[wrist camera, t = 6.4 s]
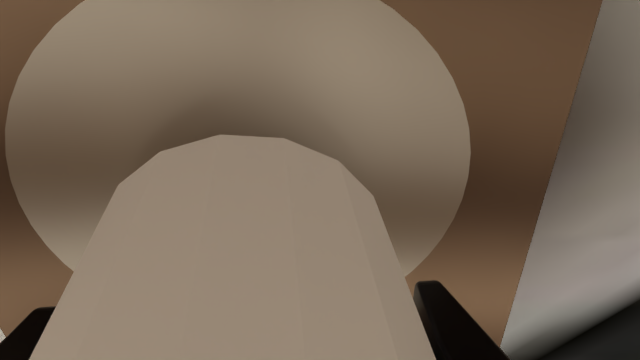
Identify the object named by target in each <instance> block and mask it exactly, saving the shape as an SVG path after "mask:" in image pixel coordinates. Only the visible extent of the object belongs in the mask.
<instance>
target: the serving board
mask: <svg viewBox="0 0 640 360" xmlns="http://www.w3.org/2000/svg"><path fill="white" fill-rule="evenodd" d="M601 4H602V0H0V328H1V330H2V331H3V333H4V335H5V336H6V337H7V336H8V335H9V334H10V333H11V332H12V331H13V330H14V329H15V328H16V327H17V326H18V325H19V324H20V323H21V322H22V321H23V320H24V319H25V318H26V317H27V316H28V315H29V314H30V313H31V312H32V311H33V310H35V309H36V308H39V307H50V306H57V304H58V302H59V300H60V298H61V296H62V294H63V292H64V290H65V288H66V286H67V284H68V282H69V280H70V278H71V276H72V274H73V272H74V270H75V268H76V266H77V265H78V263H79V261H80V259H81V257H82V255H83V253H84V251H85V249H86V247H87V245H88V243H89V241H90V239H91V237H92V235H93V233H94V231H95V229H96V227H97V225H98V223H99V221H100V219H101V217H102V216H103V214H104V212H105V210H106V208H107V206H108V204H109V202H110V200H111V198H112V196H113V194H114V192H115V190H116V188H117V186H118V185H119V184H120V183H121V182H122V181H124V180H125V179H126V178H127V177H129V176H130V175H131V174H132V173H134V172H135V171H136V170H137V169H139V168H140V167H141V166H143V165H144V164H145V163H146V162H148V161H149V160H150V159H151V158H153V157H154V156H155V155H156V154H158V153H159V152H160V151H164V150H167V149H171V148H174V147H178V146H181V145H185V144H188V143H192V142H195V141H199V140H202V139H206V138H209V137H213V136H216V135H238V136H256V137H274V138H285V139H288V140H290V141H292V142H295V143H297V144H300V145H302V146H304V147H307V148H309V149H312V150H314V151H316V152H319V153H321V154H324V155H326V156H329V157H331V158H333V159H336V160H338V161H339V162H340V163H341V164H342V165H343V166H344V167H345V168H346V169H347V170H348V171H349V172H350V173H351V174H352V175H353V176H354V177H355V178H356V179H357V180H358V181H359V182H360V183H361V184H362V185H363V186H364V187H365V188H366V189H367V190H368V191H369V192H370V193H371V194H372V195H373V196H374V199H375V201H376V204H377V206H378V209H379V212H380V214H381V217H382V219H383V222H384V225H385V227H386V230H387V233H388V235H389V238H390V240H391V243H392V246H393V248H394V251H395V253H396V256H397V259H398V261H399V264H400V267H401V269H402V272H403V274H404V277H405V280H406V282H407V285H408V287H409V290H410V293H411V295H412V298H413V295H414V287H415V284H416V283H417V282H419V281H430V280H437V281H439V282H440V283H441V284H442V285H443V286H444V287H445V288H446V289H447V290H448V291H449V292H450V293H451V295H452V296H453V297H454V298H455V299H456V300H457V301H458V302H459V303H460V304H461V306H462V307H463V308H464V309H465V310H466V311H467V312H468V313H469V314H470V315H471V317H472V318H473V319H474V320H475V321H476V322H477V323H478V324H479V325H480V326H481V328H482V329H483V330H484V331H485V332H486V333H487V334H488V335H489V336H490V337H491V339H492V340H493V341H494V342H495V343H496V344H497V345H498V346H499V347H500V344H501V341H502V338H503V334H504V331H505V328H506V324H507V321H508V317H509V314H510V311H511V307H512V304H513V301H514V297H515V294H516V290H517V287H518V284H519V280H520V277H521V274H522V270H523V267H524V263H525V260H526V257H527V253H528V250H529V247H530V243H531V240H532V236H533V233H534V230H535V226H536V223H537V220H538V216H539V213H540V210H541V206H542V203H543V199H544V196H545V193H546V189H547V186H548V183H549V179H550V176H551V172H552V169H553V166H554V162H555V159H556V156H557V152H558V149H559V145H560V142H561V139H562V135H563V132H564V129H565V125H566V122H567V118H568V115H569V112H570V108H571V105H572V102H573V98H574V95H575V91H576V88H577V85H578V81H579V78H580V75H581V71H582V68H583V64H584V61H585V58H586V54H587V51H588V48H589V44H590V41H591V37H592V34H593V31H594V27H595V24H596V21H597V17H598V14H599V10H600V7H601Z"/></svg>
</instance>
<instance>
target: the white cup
mask: <svg viewBox="0 0 640 360" xmlns="http://www.w3.org/2000/svg"><path fill="white" fill-rule="evenodd" d="M29 360H436V358H435V355H434V353H433V350H432V348H431V345H430V342H429V340H428V337H427V335H426V332H425V329H424V327H423V324H422V321H421V319H420V316H419V314H418V311H417V308H416V306H415V303H414V301H413V298H412V295H411V293H410V290H409V287H408V285H407V282H406V280H405V277H404V274H403V272H402V269H401V267H400V264H399V261H398V259H397V256H396V253H395V251H394V248H393V246H392V243H391V240H390V238H389V235H388V233H387V230H386V227H385V225H384V222H383V219H382V217H381V214H380V212H379V209H378V206H377V204H376V201H375V199H374V196H373V195H372V194H371V193H370V192H369V191H368V190H367V189H366V188H365V187H364V186H363V185H362V184H361V183H360V182H359V181H358V180H357V179H356V178H355V177H354V176H353V175H352V174H351V173H350V172H349V171H348V170H347V169H346V168H345V167H344V166H343V165H342V164H341V163H340V162H339V161H338V160H336V159H333V158H331V157H329V156H326V155H324V154H321V153H319V152H316V151H314V150H312V149H309V148H307V147H304V146H302V145H300V144H297V143H295V142H292V141H290V140H288V139H285V138H274V137H256V136H238V135H216V136H213V137H209V138H206V139H202V140H199V141H195V142H192V143H188V144H185V145H181V146H178V147H174V148H171V149H167V150H164V151H160V152H159V153H158V154H156V155H155V156H154V157H153V158H151V159H150V160H149V161H148V162H146V163H145V164H144V165H143V166H141V167H140V168H139V169H137V170H136V171H135V172H134V173H132V174H131V175H130V176H129V177H127V178H126V179H125V180H124V181H122V182H121V183H120V184H119V185H118V186H117V188H116V190H115V192H114V194H113V196H112V198H111V200H110V202H109V204H108V206H107V208H106V210H105V212H104V214H103V216H102V217H101V219H100V221H99V223H98V225H97V227H96V229H95V231H94V233H93V235H92V237H91V239H90V241H89V243H88V245H87V247H86V249H85V251H84V253H83V255H82V257H81V259H80V261H79V263H78V265H77V266H76V268H75V270H74V272H73V274H72V276H71V278H70V280H69V282H68V284H67V286H66V288H65V290H64V292H63V294H62V296H61V298H60V300H59V302H58V304H57V306H56V308H55V310H54V312H53V314H52V315H51V317H50V319H49V321H48V323H47V325H46V327H45V329H44V331H43V333H42V335H41V337H40V339H39V341H38V343H37V345H36V347H35V349H34V351H33V353H32V355H31V357H30V359H29Z"/></svg>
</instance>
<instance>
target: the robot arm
mask: <svg viewBox="0 0 640 360" xmlns="http://www.w3.org/2000/svg"><path fill="white" fill-rule="evenodd" d="M413 301H414V303H415V306H416V308H417V311H418V314H419V316H420V319H421V321H422V324H423V327H424V329H425V332H426V335H427V337H428V340H429V342H430V345H431V348H432V350H433V353H434V355H435V358H436V360H511V359H510V358H509V357H508V356H507V355H506V354H505V353H504V352H503V351H502V350H501V348H500V347H499V346H498V345H497V344H496V343H495V342H494V341H493V340H492V339H491V337H490V336H489V335H488V334H487V333H486V332H485V331H484V330H483V329H482V328H481V326H480V325H479V324H478V323H477V322H476V321H475V320H474V319H473V318H472V317H471V315H470V314H469V313H468V312H467V311H466V310H465V309H464V308H463V307H462V306H461V304H460V303H459V302H458V301H457V300H456V299H455V298H454V297H453V296H452V295H451V293H450V292H449V291H448V290H447V289H446V288H445V287H444V286H443V285H442V284H441V283H440V282H439V281H437V280H430V281H419V282H417V283H416V284H415V287H414V295H413ZM55 308H56V306H50V307H39V308H36V309H35V310H33V311H32V312H31V313H30V314H29V315H28V316H27V317H26V318H25V319H24V320H23V321H22V322H21V323H20V324H19V325H18V326H17V327H16V328H15V329H14V330H13V331H12V332H11V333H10V334H9V335H8V336H7V337H6V338H5V339H4V340H3V341H2V342H1V343H0V360H29V359H30V357H31V355H32V353H33V351H34V349H35V347H36V345H37V343H38V341H39V339H40V337H41V335H42V333H43V331H44V329H45V327H46V325H47V323H48V321H49V319H50V317H51V315H52V314H53V312H54V310H55Z"/></svg>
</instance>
